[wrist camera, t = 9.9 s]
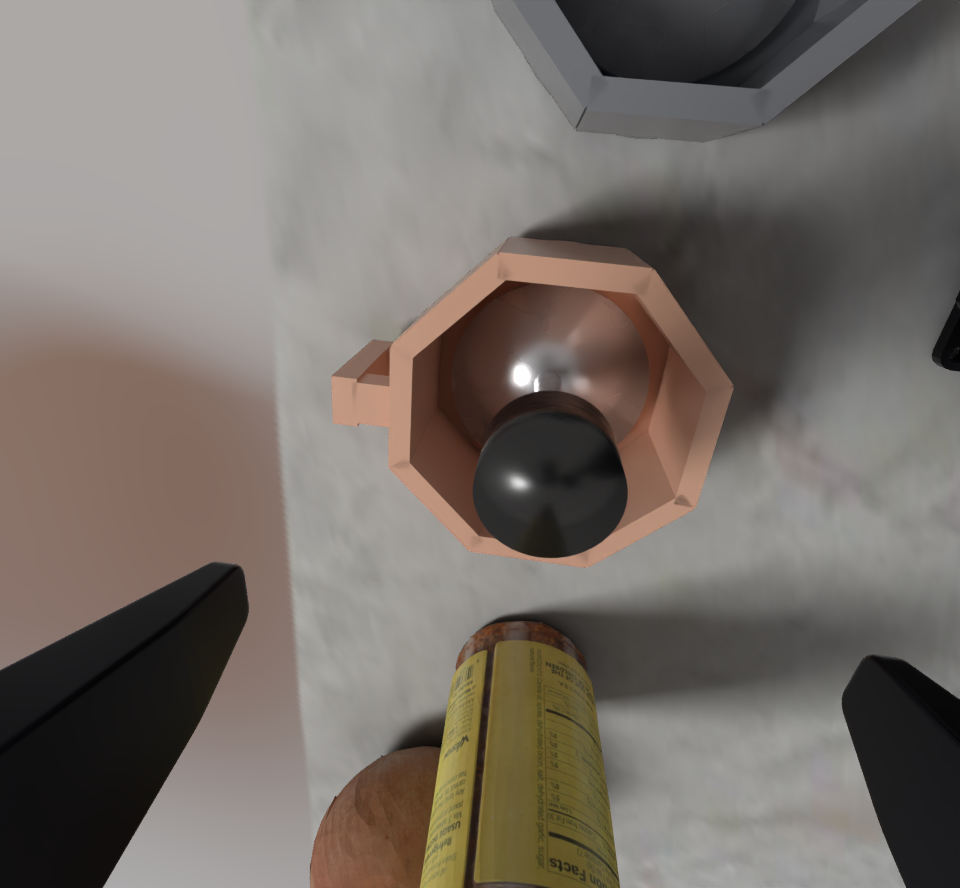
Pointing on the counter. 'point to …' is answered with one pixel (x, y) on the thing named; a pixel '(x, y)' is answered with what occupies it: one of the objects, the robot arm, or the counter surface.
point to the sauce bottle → (520, 769)
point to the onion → (378, 824)
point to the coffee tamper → (671, 34)
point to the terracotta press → (455, 452)
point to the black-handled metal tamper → (550, 414)
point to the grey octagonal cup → (706, 103)
